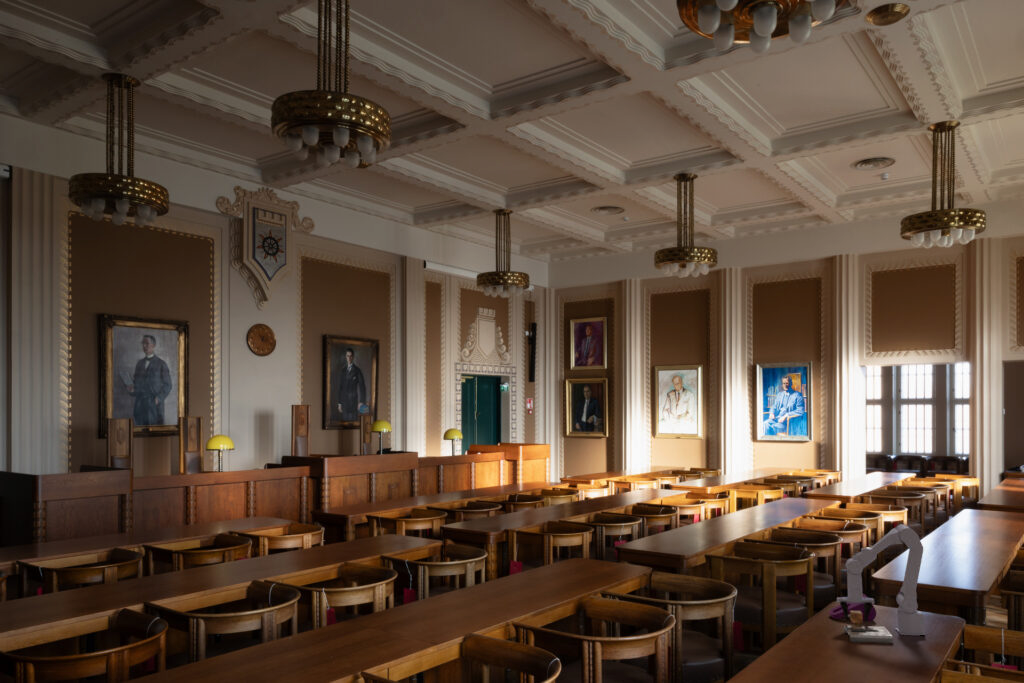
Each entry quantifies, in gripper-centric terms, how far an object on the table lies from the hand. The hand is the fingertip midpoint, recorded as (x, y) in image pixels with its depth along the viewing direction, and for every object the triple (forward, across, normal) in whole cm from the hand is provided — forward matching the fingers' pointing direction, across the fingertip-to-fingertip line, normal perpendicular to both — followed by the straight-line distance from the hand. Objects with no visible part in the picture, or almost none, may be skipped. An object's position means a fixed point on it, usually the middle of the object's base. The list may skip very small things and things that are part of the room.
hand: (856, 620), depth 332 cm
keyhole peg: (+4, 0, 0) cm, 4 cm away
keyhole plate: (+4, -2, +10) cm, 11 cm away
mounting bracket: (+5, -2, -18) cm, 19 cm away
